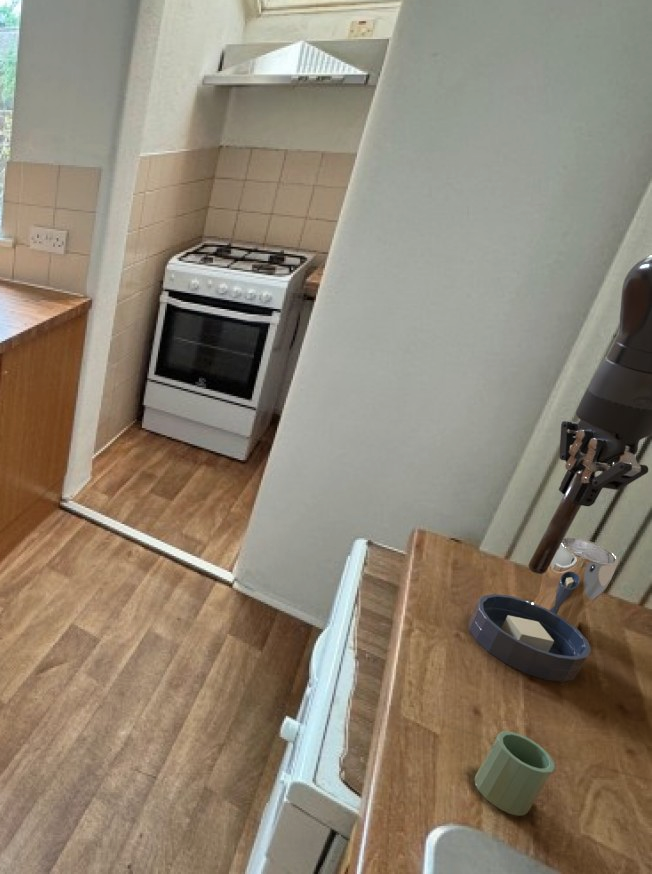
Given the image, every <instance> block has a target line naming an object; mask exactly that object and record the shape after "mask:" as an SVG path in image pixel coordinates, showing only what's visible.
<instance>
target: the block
mask: <svg viewBox="0 0 652 874" xmlns="http://www.w3.org/2000/svg"><path fill="white" fill-rule="evenodd" d="M501 629H502V630H503V631H505V632H506V633H508V634H510V635H511V636H513V637H514V638H516V639H518V640H519V641H522V642H524V643H526V644H528V645H530V646H532V647H535V648H537V649H540V650H543V651H546V652H549V650H550V648H551V646H552V644H553V643H554V640H553V639H552V638H551V637H550V635H549V634H548V633H547V632H546V630H545V629H544V628H543V627H542V625H541V624H540V623H539V622H537V621H533V620H528V619H523V618H518V617H514V616H509V615H508V616H507V618H506V620H505V622H504V624H503V626H502V628H501Z"/></svg>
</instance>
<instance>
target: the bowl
mask: <svg viewBox="0 0 652 874" xmlns="http://www.w3.org/2000/svg"><path fill="white" fill-rule="evenodd" d="M508 615H509V616H514V617H518V618H523V619H528V620H533V621H537V622H539V623H540V624H541V625H542V627H543V628H544V629H545V630H546V632H547V633H548V634H549V635H550V637H551V638H552V639H553V640H554V643H553V644H552V646H551V648H550V650H549V652H546V651H543V650H540V649H537V648H535V647H532V646H530V645H528V644H526V643H524V642H522V641H519V640H518V639H516V638H514V637H513V636H511V635H510V634H508V633H506V632H505V631H503V630H502V629H501V628H502V626H503V624H504V622H505V620H506V618H507V616H508ZM467 623H468V631H469V632H470V634H471V635H472V637H473V639H474V640H475V642H476V643H478V644H479V645H480V646H481V647H482V648H483V649H484V650H485V651H486V652H487V653H488V654H490V655H491V656H493V657H494V658H496V659H497V660H499V661H500V662H502V663H503V664H505V665H507V666H509V667H511V668H513V669H515V670H517V671H519V672H521V673H523V674H526V675H528V676H532V677H535V678H538V679H541V680H545V681H552V682H557V683H558V682H559V683H564V682H568V681H574V680H575V678H576V677H577V676H578V674H579V673H580V670H582V668H583V666H584V664H585V663H586V661H587V660H588V658H589V656H590V654H591V652H592V649H591V645H590V642H589V640H588V639H587V638H586V637H585V636H584V635H583V633H582V632H581V631H580V630H579V628H578V629H577V628H575V627H574V626H573V625H571V624H570V623H569V622H567V621H566V620H565V619H563V618H562V617H560V616H558V615H557V614H555V613H553V612H551V611H550V610H548V609H546V608H544V607H541V606H539V605H536V604H534V603H532V601H530V600H528V599H527V600H526V599H523V598H520V597H517V596H513V595H509V594H500V593H492V594H491V593H490V594H486V595H482V596H481V597H480V599H478V600H477V602H476V605H475V607H474V609H473V611H472V613H471V615H470V617H469V619H468V622H467Z"/></svg>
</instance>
